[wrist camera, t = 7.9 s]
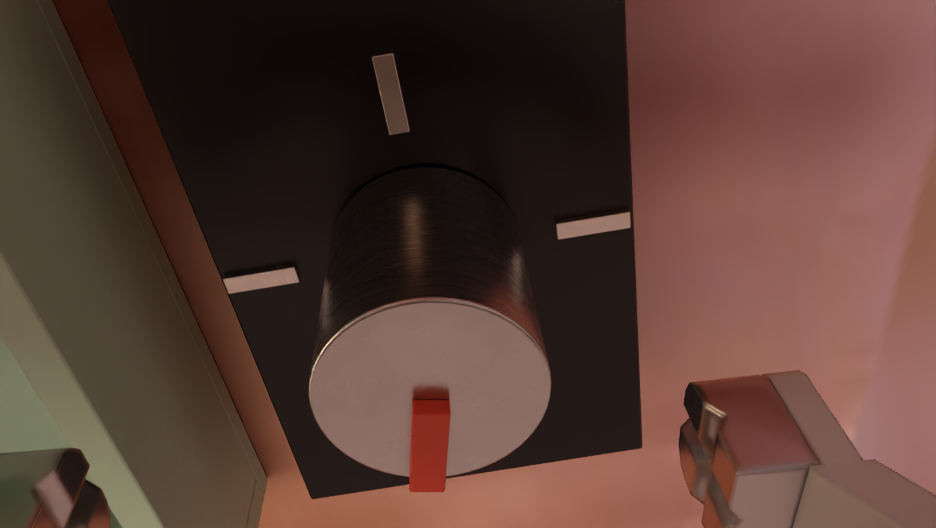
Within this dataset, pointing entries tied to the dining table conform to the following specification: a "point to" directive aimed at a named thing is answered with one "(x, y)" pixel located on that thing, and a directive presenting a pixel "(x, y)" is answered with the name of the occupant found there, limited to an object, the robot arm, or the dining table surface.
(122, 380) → the basin
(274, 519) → the dining table surface
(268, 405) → the dining table surface
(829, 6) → the dining table surface
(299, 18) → the black dial base
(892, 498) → the robot arm
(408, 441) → the rotary knob
